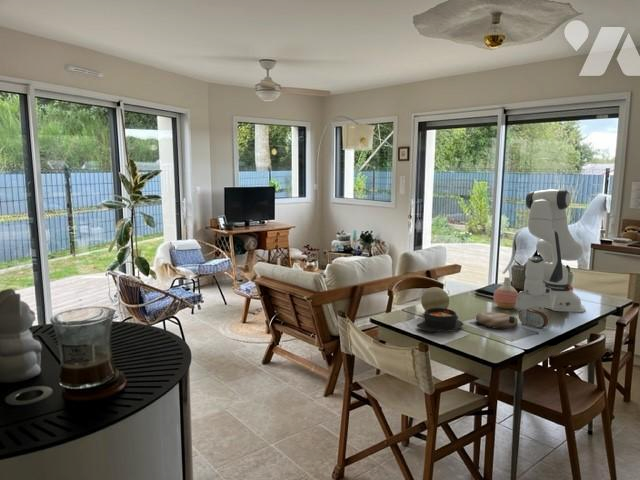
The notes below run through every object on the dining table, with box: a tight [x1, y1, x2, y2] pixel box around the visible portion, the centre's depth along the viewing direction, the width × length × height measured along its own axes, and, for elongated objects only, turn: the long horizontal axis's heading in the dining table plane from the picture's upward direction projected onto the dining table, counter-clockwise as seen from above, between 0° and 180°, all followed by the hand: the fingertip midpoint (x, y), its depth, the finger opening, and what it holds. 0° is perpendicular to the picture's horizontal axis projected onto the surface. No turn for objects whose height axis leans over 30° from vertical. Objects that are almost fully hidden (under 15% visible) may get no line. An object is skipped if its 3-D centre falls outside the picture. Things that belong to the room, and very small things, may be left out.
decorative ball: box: [420, 286, 450, 311], centre depth 262 cm, size 15×15×15 cm
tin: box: [517, 308, 549, 329], centre depth 243 cm, size 15×3×8 cm, turn 34°
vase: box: [493, 276, 519, 310], centre depth 273 cm, size 14×14×18 cm
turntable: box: [475, 311, 518, 328], centre depth 247 cm, size 20×20×4 cm
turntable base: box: [487, 325, 508, 329], centre depth 247 cm, size 14×14×2 cm
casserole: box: [416, 308, 464, 333], centre depth 241 cm, size 25×19×8 cm
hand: (531, 316), depth 243 cm, fingers open, 8 cm apart
